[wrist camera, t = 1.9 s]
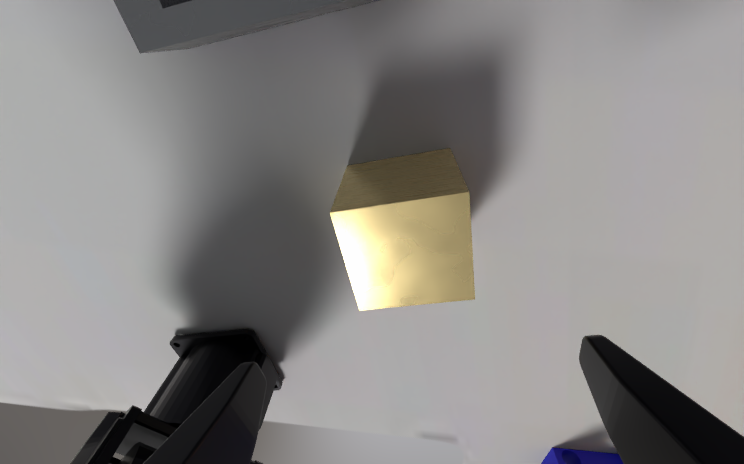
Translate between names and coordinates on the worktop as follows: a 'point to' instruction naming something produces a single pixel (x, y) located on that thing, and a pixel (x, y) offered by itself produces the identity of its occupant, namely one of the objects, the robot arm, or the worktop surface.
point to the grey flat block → (213, 19)
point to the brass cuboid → (406, 231)
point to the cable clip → (580, 457)
